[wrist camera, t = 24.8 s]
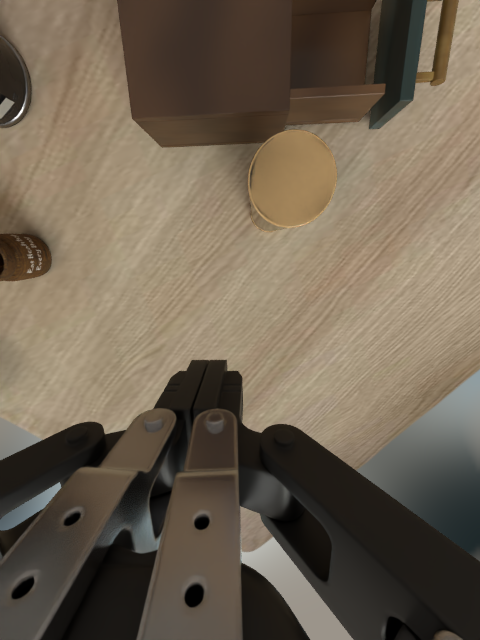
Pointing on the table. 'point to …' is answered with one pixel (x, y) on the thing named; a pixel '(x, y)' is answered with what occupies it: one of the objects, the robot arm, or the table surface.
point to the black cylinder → (290, 180)
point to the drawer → (360, 59)
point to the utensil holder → (22, 257)
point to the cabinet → (208, 69)
